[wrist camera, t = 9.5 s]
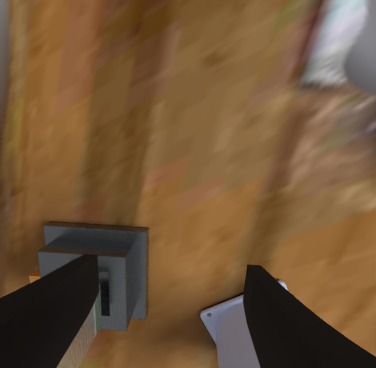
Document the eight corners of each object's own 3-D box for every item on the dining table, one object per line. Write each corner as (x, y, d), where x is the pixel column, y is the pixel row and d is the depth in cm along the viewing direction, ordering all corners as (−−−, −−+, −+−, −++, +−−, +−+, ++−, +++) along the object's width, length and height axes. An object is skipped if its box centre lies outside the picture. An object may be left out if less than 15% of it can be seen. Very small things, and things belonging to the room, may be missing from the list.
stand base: (148, 227, 21) (139, 245, 17) (147, 311, 23) (139, 342, 19) (50, 221, 21) (21, 237, 18) (58, 305, 23) (35, 334, 20)
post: (99, 282, 17) (42, 370, 11) (101, 324, 18) (49, 427, 11) (50, 279, 17) (-36, 363, 11) (55, 320, 18) (-22, 420, 12)
